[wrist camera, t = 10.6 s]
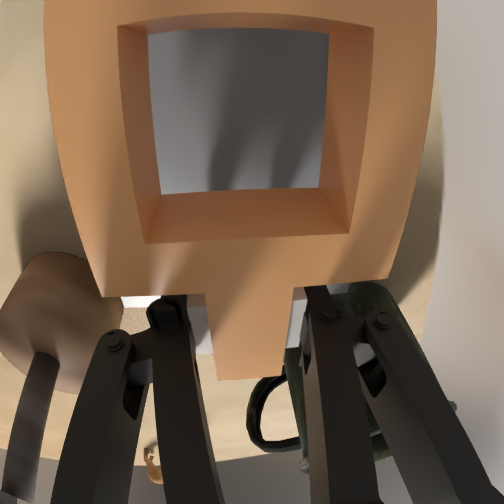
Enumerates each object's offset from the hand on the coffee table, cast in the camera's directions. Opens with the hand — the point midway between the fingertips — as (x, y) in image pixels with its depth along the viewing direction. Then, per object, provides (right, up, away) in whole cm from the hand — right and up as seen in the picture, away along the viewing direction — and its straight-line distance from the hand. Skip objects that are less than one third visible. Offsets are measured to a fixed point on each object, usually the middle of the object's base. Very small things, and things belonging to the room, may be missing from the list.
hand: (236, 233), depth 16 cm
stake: (-13, -5, +5) cm, 15 cm away
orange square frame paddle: (0, +1, -6) cm, 6 cm away
